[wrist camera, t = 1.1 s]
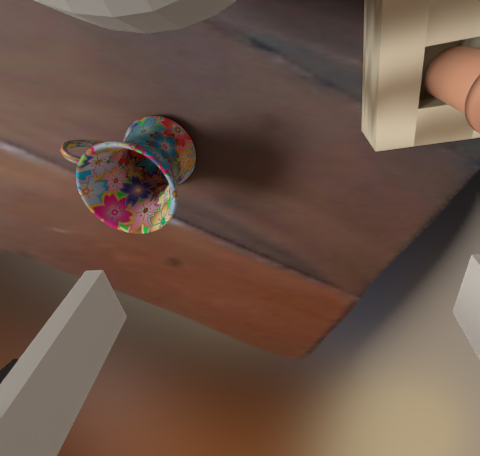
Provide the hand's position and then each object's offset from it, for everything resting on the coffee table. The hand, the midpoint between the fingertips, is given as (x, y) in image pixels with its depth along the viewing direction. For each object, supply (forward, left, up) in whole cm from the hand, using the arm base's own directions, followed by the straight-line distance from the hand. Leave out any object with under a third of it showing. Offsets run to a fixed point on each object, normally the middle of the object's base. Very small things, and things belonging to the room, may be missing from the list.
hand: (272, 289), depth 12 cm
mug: (+2, -15, -26) cm, 30 cm away
